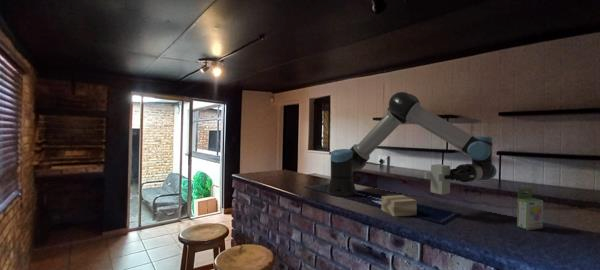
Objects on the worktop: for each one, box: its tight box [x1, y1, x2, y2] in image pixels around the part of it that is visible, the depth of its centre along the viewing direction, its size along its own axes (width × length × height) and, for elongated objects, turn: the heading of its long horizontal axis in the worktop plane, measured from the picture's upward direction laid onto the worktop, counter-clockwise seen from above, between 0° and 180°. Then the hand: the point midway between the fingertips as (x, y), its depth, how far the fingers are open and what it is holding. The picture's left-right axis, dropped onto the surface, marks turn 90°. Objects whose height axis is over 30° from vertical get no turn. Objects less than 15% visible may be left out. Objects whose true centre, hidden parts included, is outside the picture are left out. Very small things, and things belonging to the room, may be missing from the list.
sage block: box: [430, 163, 451, 195], centre depth 116 cm, size 5×5×11 cm
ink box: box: [516, 187, 544, 231], centre depth 100 cm, size 7×4×13 cm, turn 105°
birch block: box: [381, 194, 418, 218], centre depth 119 cm, size 10×10×6 cm
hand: (431, 176), depth 113 cm, fingers closed on sage block, 5 cm apart
